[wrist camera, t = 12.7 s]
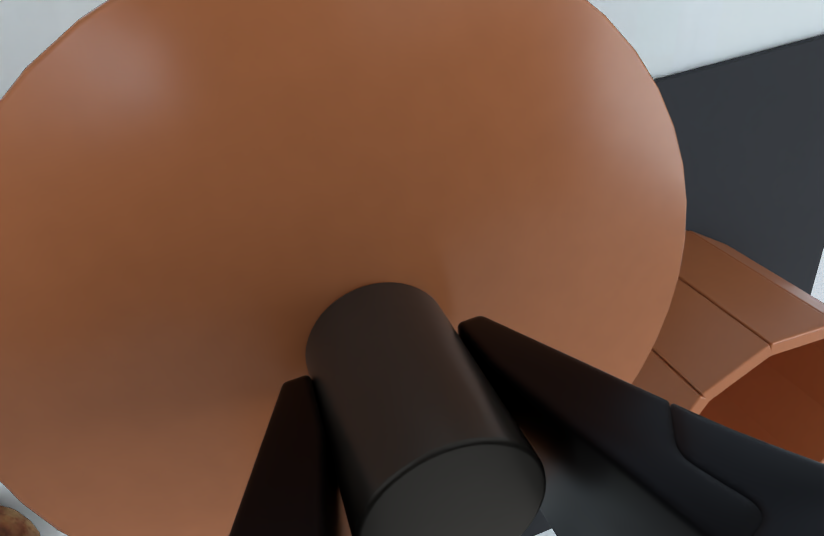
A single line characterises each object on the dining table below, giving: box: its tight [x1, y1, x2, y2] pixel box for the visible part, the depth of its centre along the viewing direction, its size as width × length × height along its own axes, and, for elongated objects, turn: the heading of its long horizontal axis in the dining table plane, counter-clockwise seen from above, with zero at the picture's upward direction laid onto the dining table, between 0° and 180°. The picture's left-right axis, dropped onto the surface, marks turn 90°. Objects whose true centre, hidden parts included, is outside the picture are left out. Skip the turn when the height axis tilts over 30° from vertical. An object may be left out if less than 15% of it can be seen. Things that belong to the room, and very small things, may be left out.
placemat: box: [521, 35, 824, 536], centre depth 27 cm, size 20×24×1 cm
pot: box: [632, 230, 824, 464], centre depth 26 cm, size 20×10×7 cm, turn 155°
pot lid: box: [0, 0, 687, 536], centre depth 8 cm, size 12×12×4 cm
